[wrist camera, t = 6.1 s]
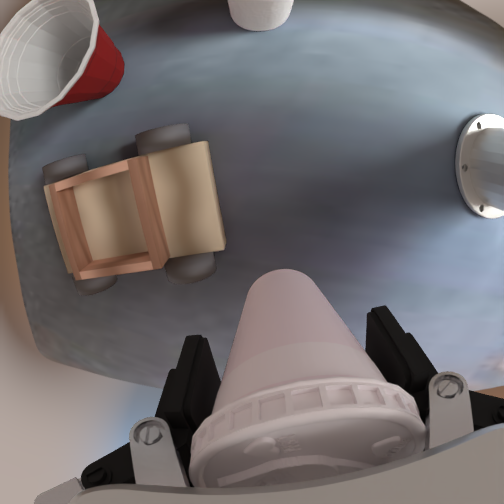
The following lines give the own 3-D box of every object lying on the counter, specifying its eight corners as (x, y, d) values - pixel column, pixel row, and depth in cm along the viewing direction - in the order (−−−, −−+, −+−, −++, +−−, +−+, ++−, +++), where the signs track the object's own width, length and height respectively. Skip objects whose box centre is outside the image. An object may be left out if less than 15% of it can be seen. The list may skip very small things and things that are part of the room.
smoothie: (221, 236, 14) (123, 630, 1) (356, 246, 14) (551, 527, 1) (217, 349, 16) (184, 617, 3) (332, 353, 16) (399, 597, 3)
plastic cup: (157, 104, 26) (97, 86, 14) (67, 134, 26) (-11, 142, 15) (145, 12, 22) (93, -38, 11) (59, 49, 23) (-11, 28, 11)
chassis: (204, 122, 26) (193, 118, 21) (229, 258, 31) (224, 281, 26) (52, 167, 28) (22, 174, 22) (83, 279, 32) (60, 300, 27)
